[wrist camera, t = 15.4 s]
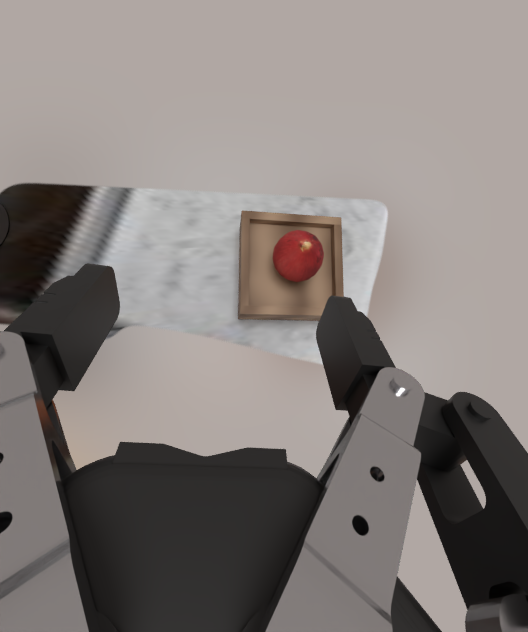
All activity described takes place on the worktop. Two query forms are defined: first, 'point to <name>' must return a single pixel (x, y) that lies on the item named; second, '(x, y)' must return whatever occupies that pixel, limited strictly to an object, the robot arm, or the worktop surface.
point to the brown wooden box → (273, 289)
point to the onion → (298, 255)
